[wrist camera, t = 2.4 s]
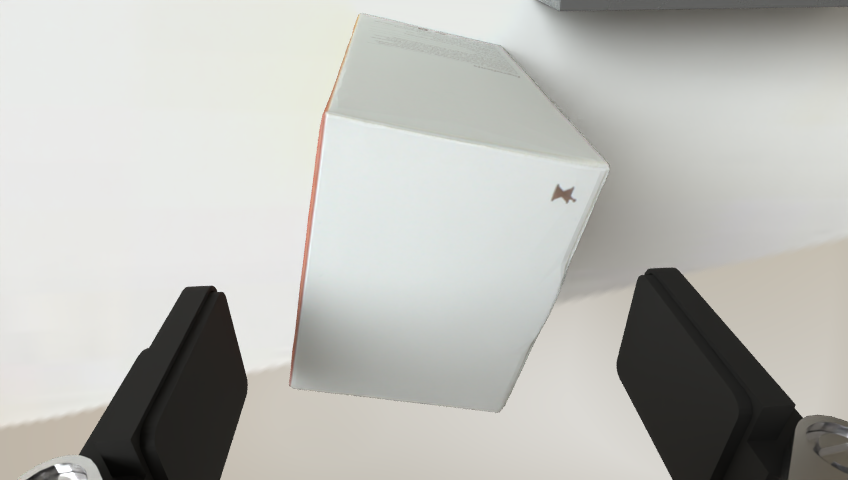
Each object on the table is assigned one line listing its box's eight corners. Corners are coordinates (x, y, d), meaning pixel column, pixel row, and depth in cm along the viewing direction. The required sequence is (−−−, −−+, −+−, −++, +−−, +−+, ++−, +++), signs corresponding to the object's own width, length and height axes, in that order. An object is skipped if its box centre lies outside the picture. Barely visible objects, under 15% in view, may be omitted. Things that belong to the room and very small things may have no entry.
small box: (357, 9, 21) (319, 103, 10) (504, 43, 22) (624, 163, 11) (331, 186, 25) (284, 395, 14) (456, 208, 26) (507, 418, 15)
